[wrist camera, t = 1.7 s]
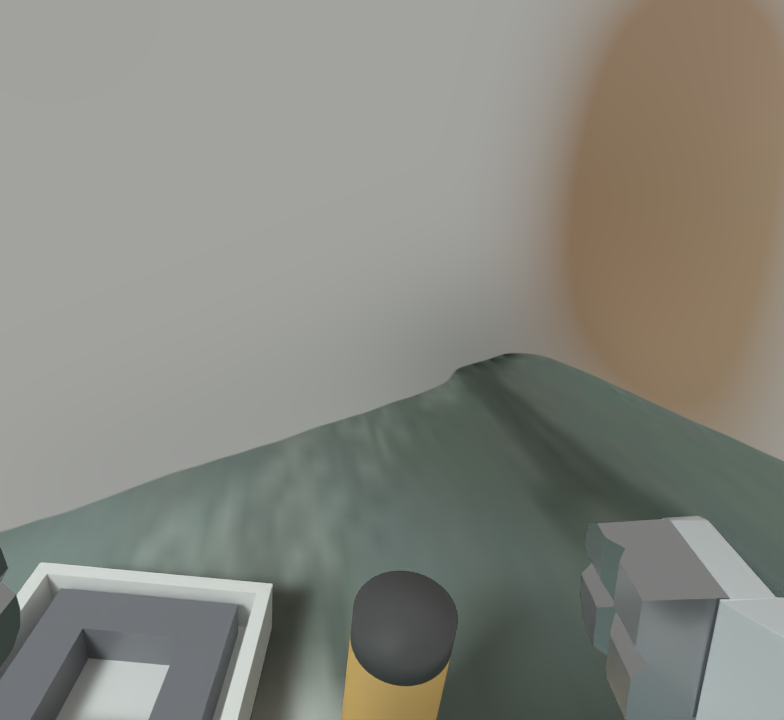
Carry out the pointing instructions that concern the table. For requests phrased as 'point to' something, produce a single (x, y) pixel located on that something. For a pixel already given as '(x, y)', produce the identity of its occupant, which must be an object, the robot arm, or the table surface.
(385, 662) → the cylinder
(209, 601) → the walled box
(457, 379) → the table surface
